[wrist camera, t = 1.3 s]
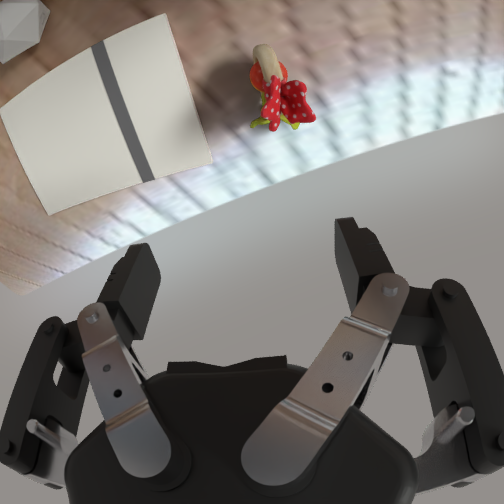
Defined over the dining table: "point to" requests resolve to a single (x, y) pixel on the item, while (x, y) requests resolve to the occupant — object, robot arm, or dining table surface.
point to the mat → (108, 119)
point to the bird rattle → (278, 92)
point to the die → (20, 26)
